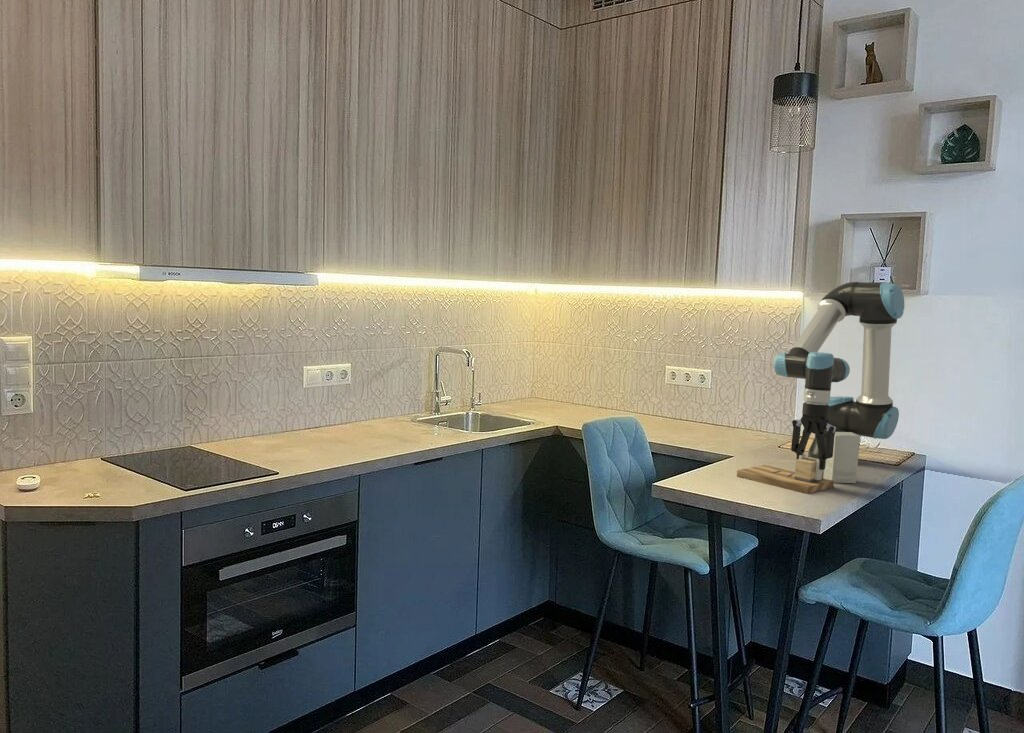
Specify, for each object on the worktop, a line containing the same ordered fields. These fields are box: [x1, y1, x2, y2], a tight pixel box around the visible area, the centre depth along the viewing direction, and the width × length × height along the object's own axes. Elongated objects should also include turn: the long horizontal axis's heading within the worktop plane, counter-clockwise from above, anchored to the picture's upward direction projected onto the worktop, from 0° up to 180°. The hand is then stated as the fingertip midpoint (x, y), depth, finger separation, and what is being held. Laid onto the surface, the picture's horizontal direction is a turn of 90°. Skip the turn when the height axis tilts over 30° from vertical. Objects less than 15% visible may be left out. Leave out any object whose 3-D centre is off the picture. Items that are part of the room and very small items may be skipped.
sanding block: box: [794, 456, 825, 482], centre depth 242 cm, size 8×5×6 cm, turn 131°
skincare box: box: [823, 432, 861, 484], centre depth 251 cm, size 8×7×16 cm
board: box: [736, 464, 835, 495], centre depth 247 cm, size 16×24×2 cm, turn 41°
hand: (809, 477), depth 243 cm, fingers closed on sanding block, 5 cm apart
